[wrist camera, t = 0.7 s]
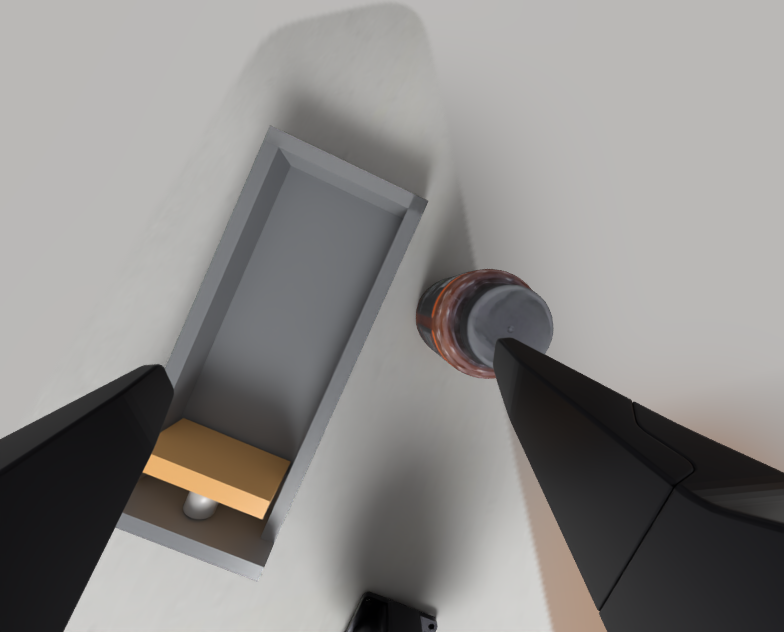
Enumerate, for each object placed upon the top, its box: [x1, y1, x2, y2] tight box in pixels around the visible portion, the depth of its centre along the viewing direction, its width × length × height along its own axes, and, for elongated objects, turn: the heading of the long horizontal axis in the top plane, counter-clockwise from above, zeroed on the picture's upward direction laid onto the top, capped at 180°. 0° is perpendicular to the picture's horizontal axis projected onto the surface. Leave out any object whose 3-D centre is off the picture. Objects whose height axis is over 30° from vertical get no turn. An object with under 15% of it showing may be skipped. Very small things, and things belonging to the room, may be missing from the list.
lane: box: [115, 125, 428, 582], centre depth 23 cm, size 26×11×6 cm, turn 156°
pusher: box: [143, 418, 290, 519], centre depth 22 cm, size 4×8×5 cm, turn 66°
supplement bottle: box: [416, 269, 553, 379], centre depth 21 cm, size 6×6×11 cm
